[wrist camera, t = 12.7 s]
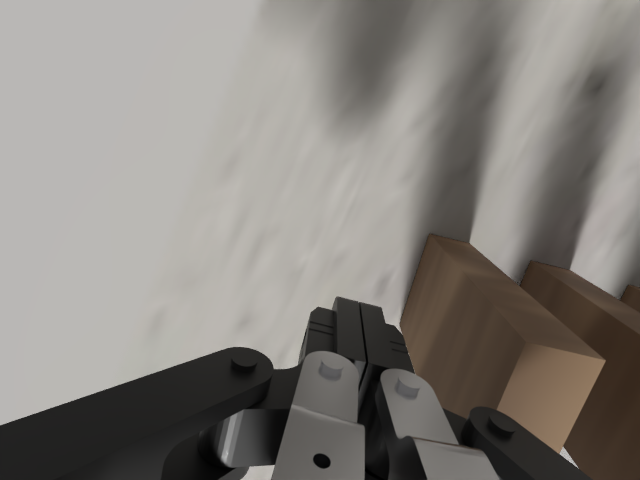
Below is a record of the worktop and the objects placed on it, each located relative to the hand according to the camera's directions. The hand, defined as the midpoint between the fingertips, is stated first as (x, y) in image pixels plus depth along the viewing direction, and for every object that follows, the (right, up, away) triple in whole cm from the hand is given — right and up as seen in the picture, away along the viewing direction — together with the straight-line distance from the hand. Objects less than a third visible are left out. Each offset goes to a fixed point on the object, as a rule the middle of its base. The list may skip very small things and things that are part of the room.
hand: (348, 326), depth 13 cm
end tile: (+5, +1, +7) cm, 8 cm away
